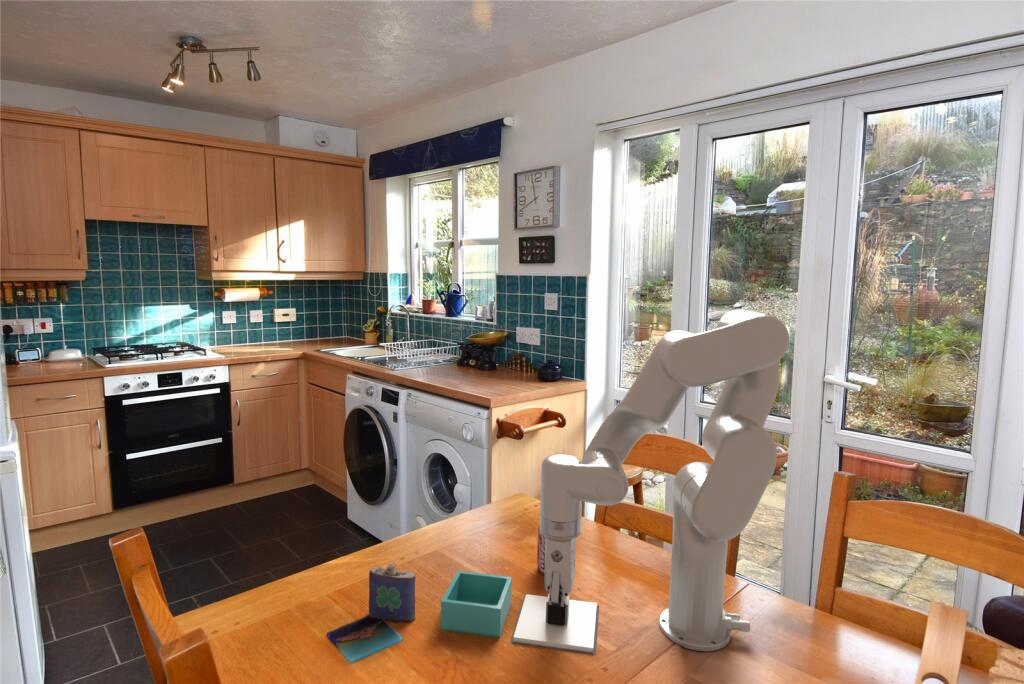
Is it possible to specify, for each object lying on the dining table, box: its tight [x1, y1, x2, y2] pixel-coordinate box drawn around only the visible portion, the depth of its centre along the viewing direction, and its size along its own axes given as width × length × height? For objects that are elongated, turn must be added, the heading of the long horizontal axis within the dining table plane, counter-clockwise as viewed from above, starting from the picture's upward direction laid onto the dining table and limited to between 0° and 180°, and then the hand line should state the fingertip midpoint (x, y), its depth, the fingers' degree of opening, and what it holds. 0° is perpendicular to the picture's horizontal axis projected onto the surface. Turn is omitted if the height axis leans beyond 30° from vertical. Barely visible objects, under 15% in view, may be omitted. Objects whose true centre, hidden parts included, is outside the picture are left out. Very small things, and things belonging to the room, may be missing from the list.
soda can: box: [536, 524, 546, 576], centre depth 127 cm, size 7×7×12 cm
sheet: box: [513, 592, 598, 652], centre depth 109 cm, size 14×14×5 cm
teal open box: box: [440, 570, 513, 638], centre depth 111 cm, size 11×11×6 cm
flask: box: [368, 562, 416, 624], centre depth 110 cm, size 9×3×11 cm, turn 78°
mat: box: [509, 595, 600, 656], centre depth 109 cm, size 15×15×1 cm
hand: (557, 616), depth 109 cm, fingers open, 3 cm apart
